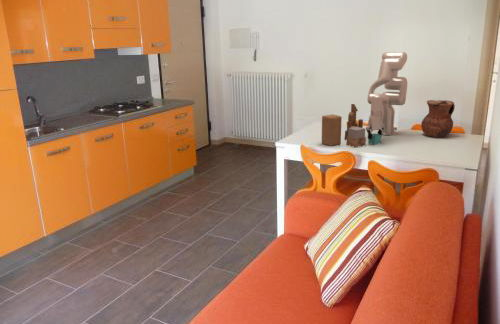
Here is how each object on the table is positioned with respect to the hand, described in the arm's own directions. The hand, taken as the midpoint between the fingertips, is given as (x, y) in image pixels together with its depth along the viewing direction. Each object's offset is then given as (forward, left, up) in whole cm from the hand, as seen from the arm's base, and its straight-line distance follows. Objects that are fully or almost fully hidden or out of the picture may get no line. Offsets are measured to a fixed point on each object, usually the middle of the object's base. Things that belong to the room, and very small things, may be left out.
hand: (374, 137), depth 283 cm
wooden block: (+24, -17, -4) cm, 30 cm away
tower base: (+13, -4, -4) cm, 15 cm away
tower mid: (+13, -4, +2) cm, 14 cm away
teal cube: (-1, 0, -4) cm, 4 cm away
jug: (-52, +12, -4) cm, 53 cm away
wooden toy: (-1, -20, -4) cm, 21 cm away
